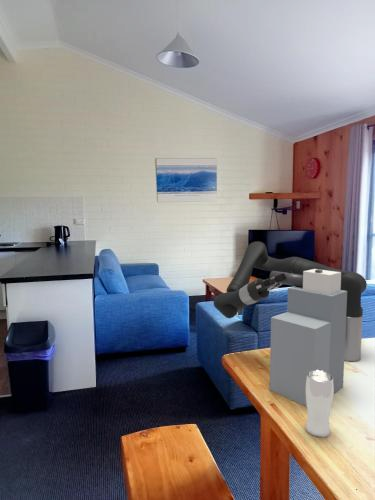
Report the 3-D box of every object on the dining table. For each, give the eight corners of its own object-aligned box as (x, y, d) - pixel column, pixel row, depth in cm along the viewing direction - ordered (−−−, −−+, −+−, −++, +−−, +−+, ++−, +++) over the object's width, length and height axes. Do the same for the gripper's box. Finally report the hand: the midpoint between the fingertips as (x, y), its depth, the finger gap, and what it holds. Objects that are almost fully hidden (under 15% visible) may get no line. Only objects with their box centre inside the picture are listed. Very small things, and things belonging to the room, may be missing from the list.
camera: (278, 280, 129) (278, 262, 128) (340, 291, 111) (341, 269, 111) (266, 283, 124) (267, 264, 123) (329, 294, 107) (330, 272, 106)
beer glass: (334, 440, 89) (336, 383, 87) (305, 436, 90) (307, 380, 88) (329, 423, 95) (331, 370, 94) (302, 420, 97) (304, 368, 95)
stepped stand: (301, 371, 126) (304, 283, 123) (343, 387, 115) (347, 291, 111) (269, 389, 114) (271, 292, 110) (312, 409, 102) (316, 301, 99)
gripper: (269, 298, 137) (304, 282, 125) (245, 304, 128) (281, 288, 115) (261, 280, 139) (295, 262, 127) (237, 285, 130) (272, 267, 118)
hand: (288, 274), depth 121 cm, fingers closed on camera, 4 cm apart
